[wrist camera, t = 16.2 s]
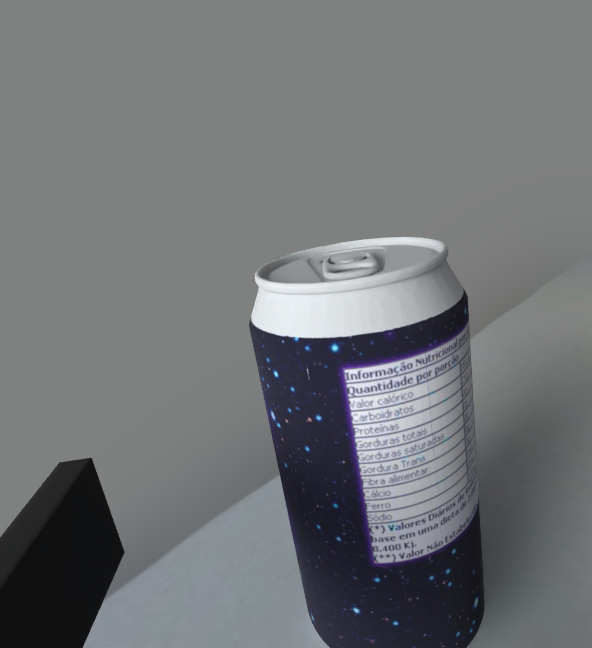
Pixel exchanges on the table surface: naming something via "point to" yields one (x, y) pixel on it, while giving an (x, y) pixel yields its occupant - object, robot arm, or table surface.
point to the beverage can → (375, 438)
